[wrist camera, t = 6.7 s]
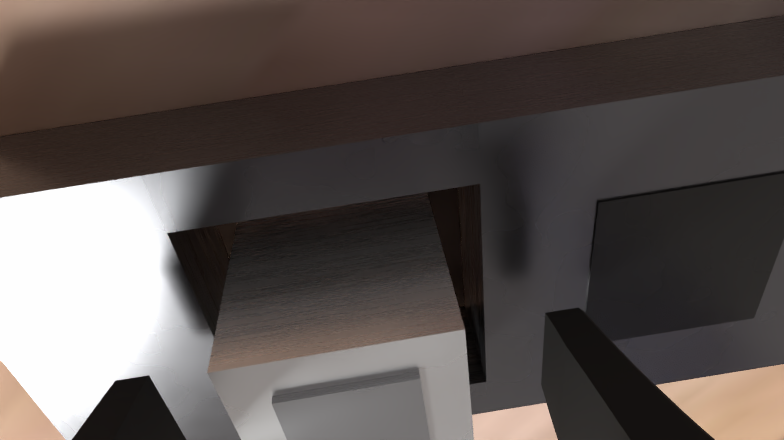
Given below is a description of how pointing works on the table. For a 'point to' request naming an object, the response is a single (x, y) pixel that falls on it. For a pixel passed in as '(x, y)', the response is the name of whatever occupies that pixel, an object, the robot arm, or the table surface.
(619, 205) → the dark grey flat block
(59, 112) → the table surface
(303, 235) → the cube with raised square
